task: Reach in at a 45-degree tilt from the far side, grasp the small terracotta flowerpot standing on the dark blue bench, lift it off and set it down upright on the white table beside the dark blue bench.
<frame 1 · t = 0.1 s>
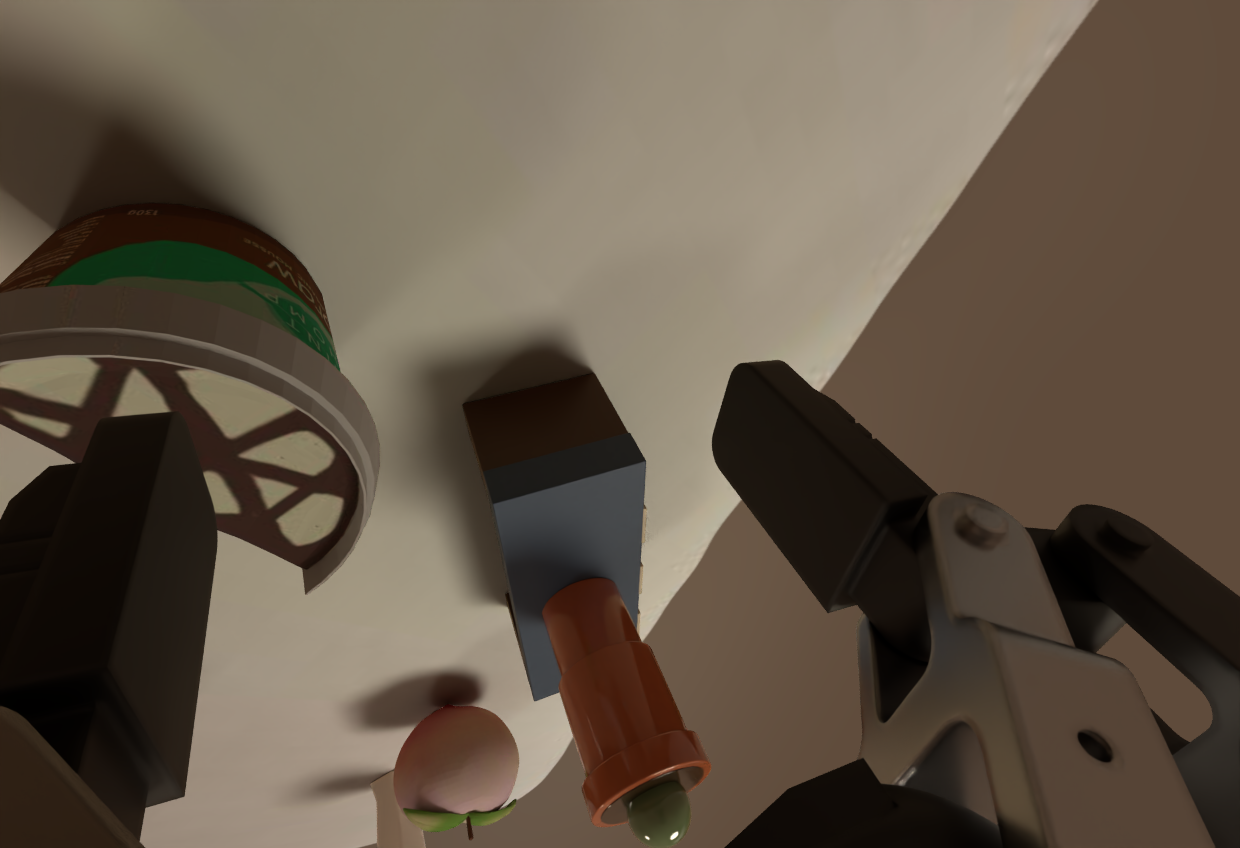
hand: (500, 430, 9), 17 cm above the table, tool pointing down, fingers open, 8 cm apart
wedge shaped tart: (252, 279, 23), on the table
decorative fruit: (447, 699, 50), on the table
perfume bottle: (392, 778, 56), on the table
pot: (580, 602, 34), point 7 cm above the table, touching dark blue bench
dark blue bench: (544, 508, 38), on the table
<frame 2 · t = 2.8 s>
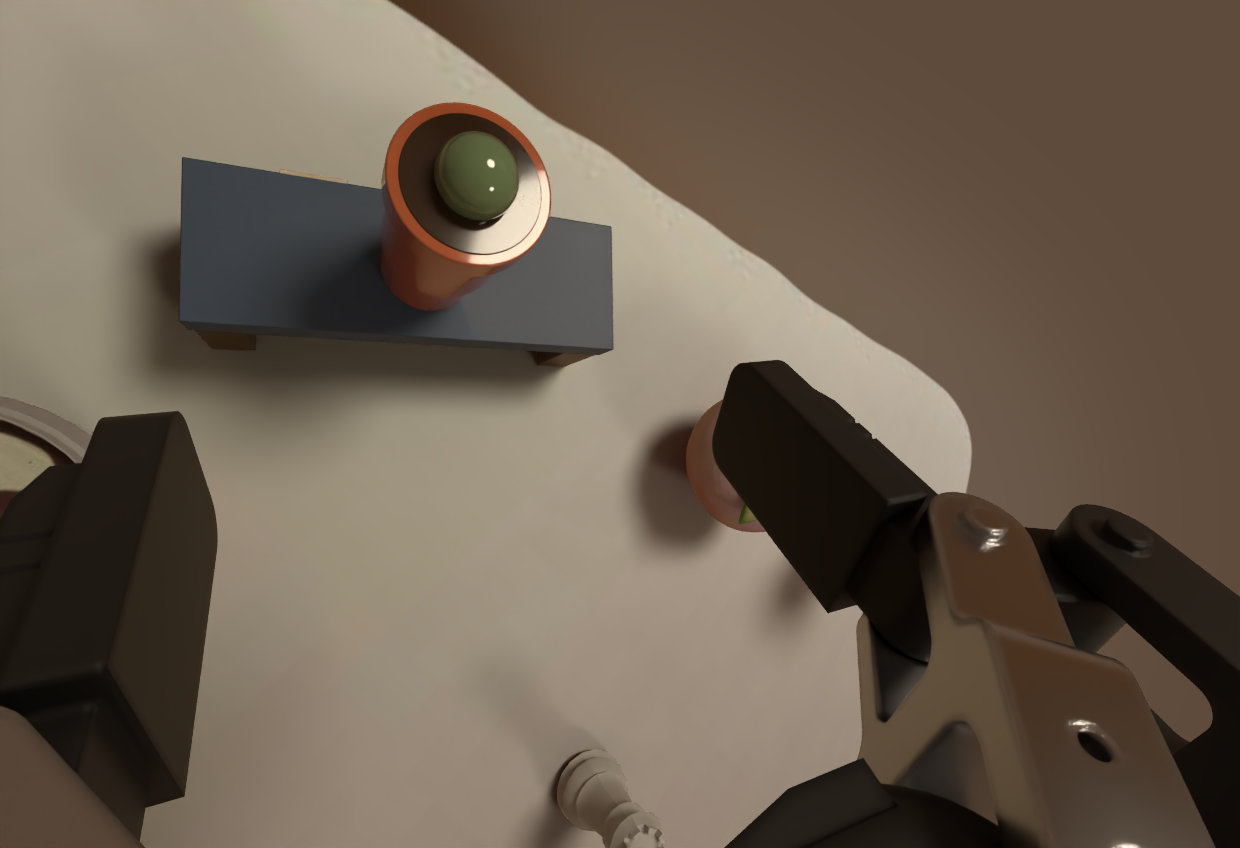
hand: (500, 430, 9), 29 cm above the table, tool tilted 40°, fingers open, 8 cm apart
decorative fruit: (704, 458, 45), on the table
rook chess piece: (585, 781, 40), on the table
pot: (427, 266, 30), point 7 cm above the table, touching dark blue bench
dark blue bench: (409, 299, 36), on the table
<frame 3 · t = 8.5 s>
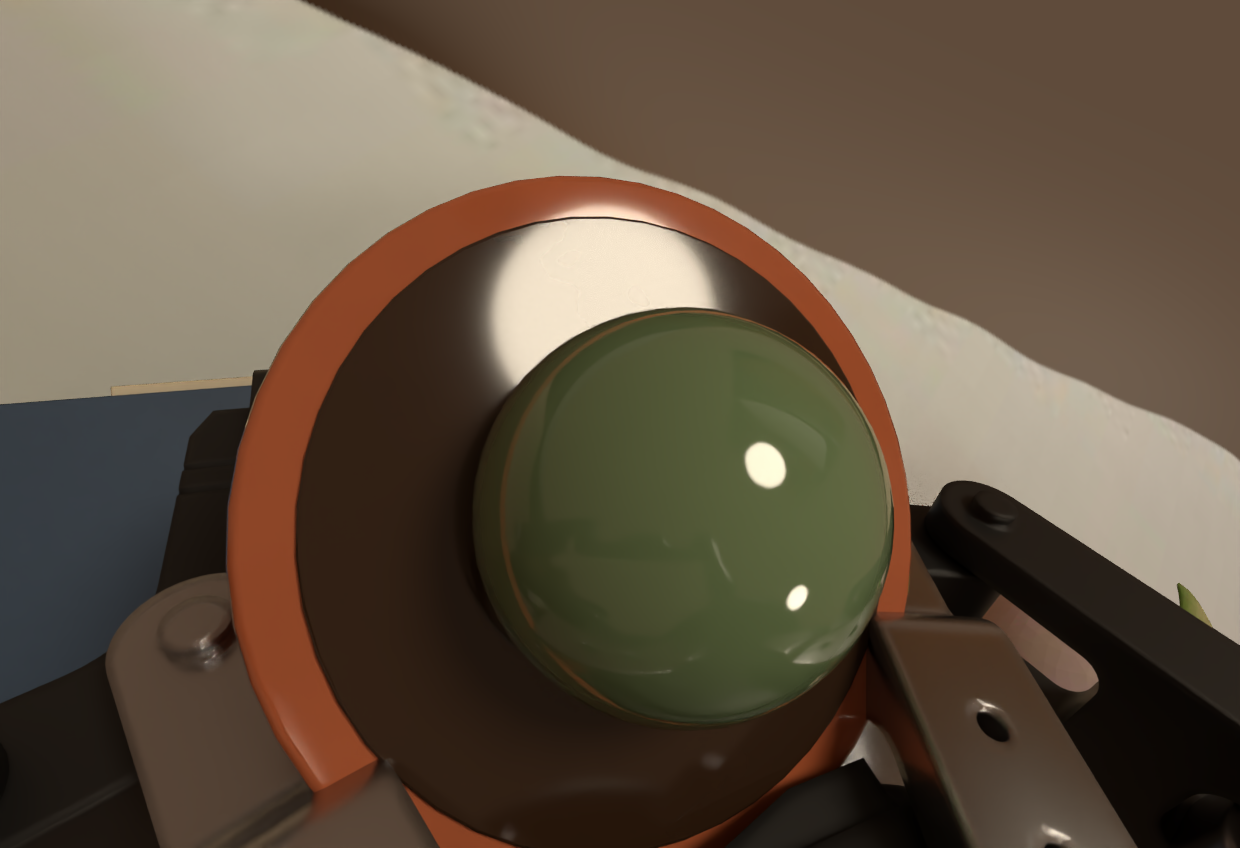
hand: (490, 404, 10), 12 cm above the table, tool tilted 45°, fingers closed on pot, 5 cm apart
decorative fruit: (939, 657, 28), on the table
pot: (467, 519, 14), point 7 cm above the table, touching dark blue bench, gripper
dark blue bench: (438, 520, 21), on the table
when the fingers open (5 cm above the table, at t = 17.9 s): pot stays where it is, on the table.
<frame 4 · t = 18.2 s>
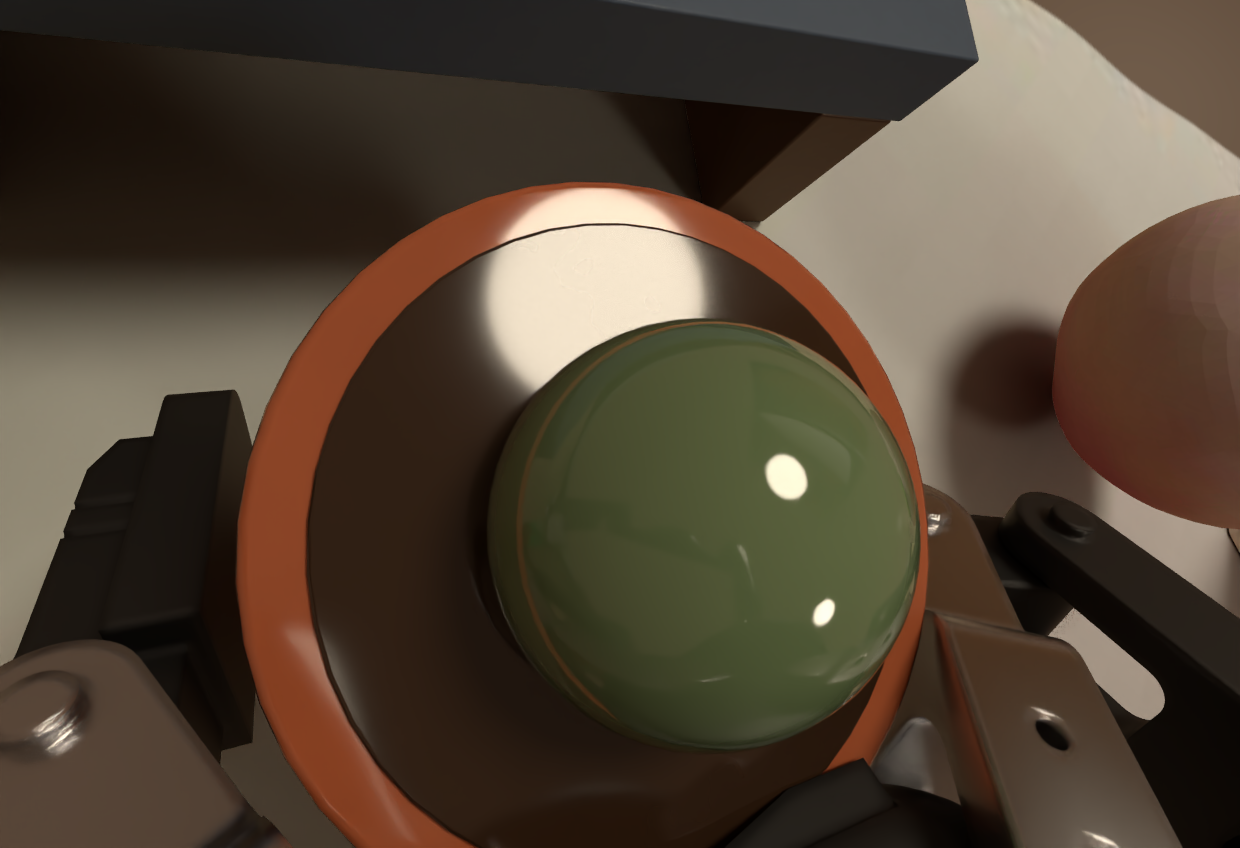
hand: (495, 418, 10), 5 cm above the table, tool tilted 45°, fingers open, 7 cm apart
decorative fruit: (1042, 394, 22), on the table
pot: (471, 522, 14), on the table
dark blue bench: (401, 79, 15), on the table
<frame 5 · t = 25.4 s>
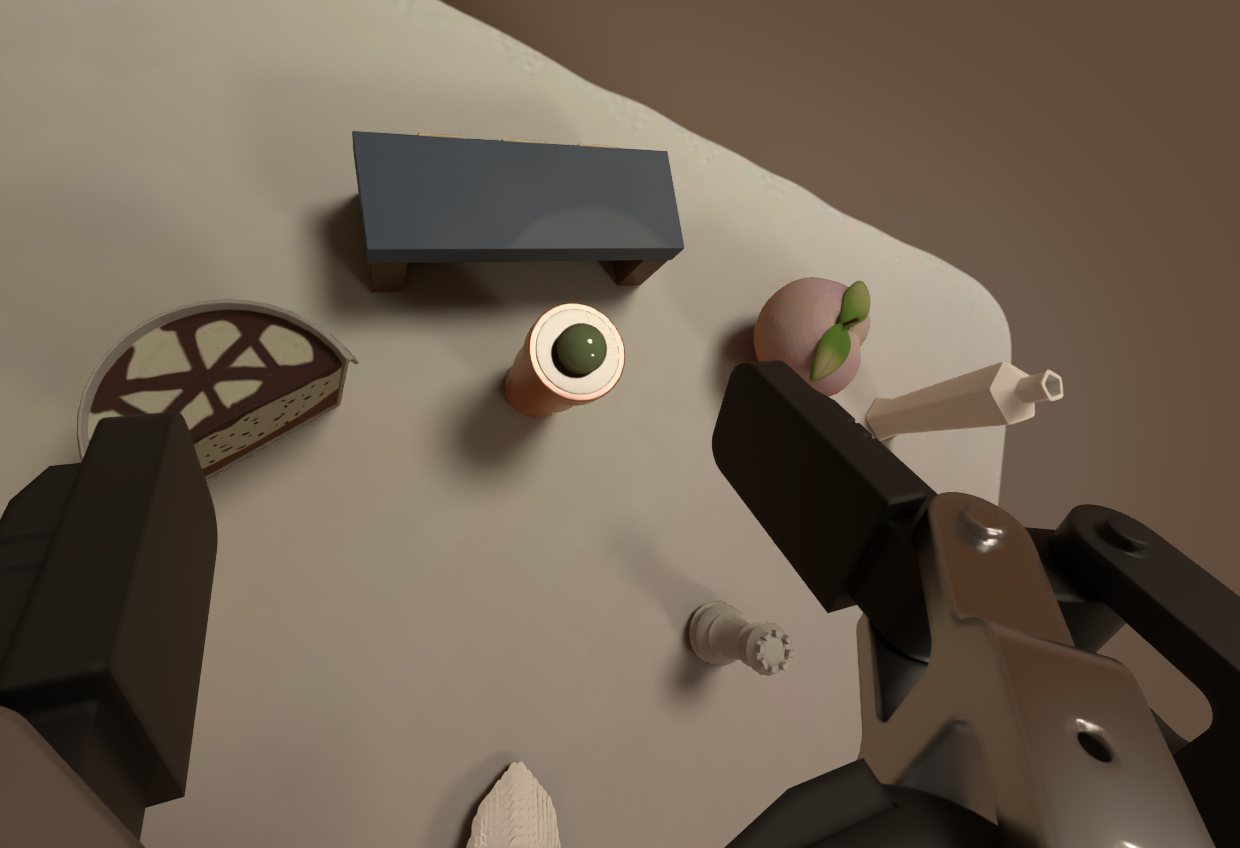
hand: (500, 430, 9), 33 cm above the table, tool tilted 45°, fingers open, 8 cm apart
wedge shaped tart: (238, 402, 37), on the table
decorative fruit: (768, 353, 52), on the table
rook chess piece: (711, 630, 46), on the table
perfume bottle: (883, 421, 55), on the table
pot: (535, 387, 44), on the table
dark blue bench: (510, 242, 45), on the table
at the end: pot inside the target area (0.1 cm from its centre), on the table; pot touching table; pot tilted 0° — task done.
